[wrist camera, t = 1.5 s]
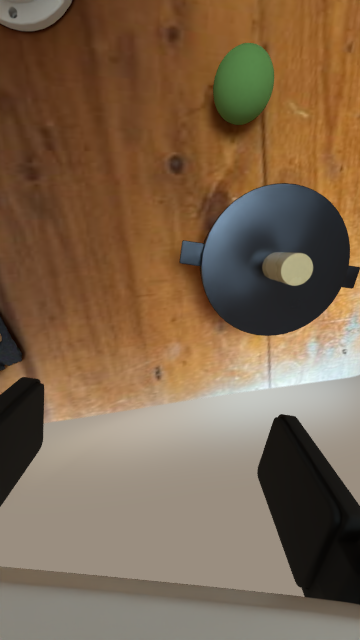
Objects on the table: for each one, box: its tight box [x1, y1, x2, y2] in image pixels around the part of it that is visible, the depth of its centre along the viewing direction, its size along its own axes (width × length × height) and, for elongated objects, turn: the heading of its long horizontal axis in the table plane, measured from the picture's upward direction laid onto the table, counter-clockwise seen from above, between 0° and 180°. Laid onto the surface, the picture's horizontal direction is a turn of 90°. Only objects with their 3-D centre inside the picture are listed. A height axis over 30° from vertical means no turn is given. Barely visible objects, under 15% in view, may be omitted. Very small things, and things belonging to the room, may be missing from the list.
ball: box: [213, 43, 274, 125], centre depth 25 cm, size 6×6×6 cm
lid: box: [201, 183, 350, 336], centre depth 24 cm, size 16×16×6 cm
